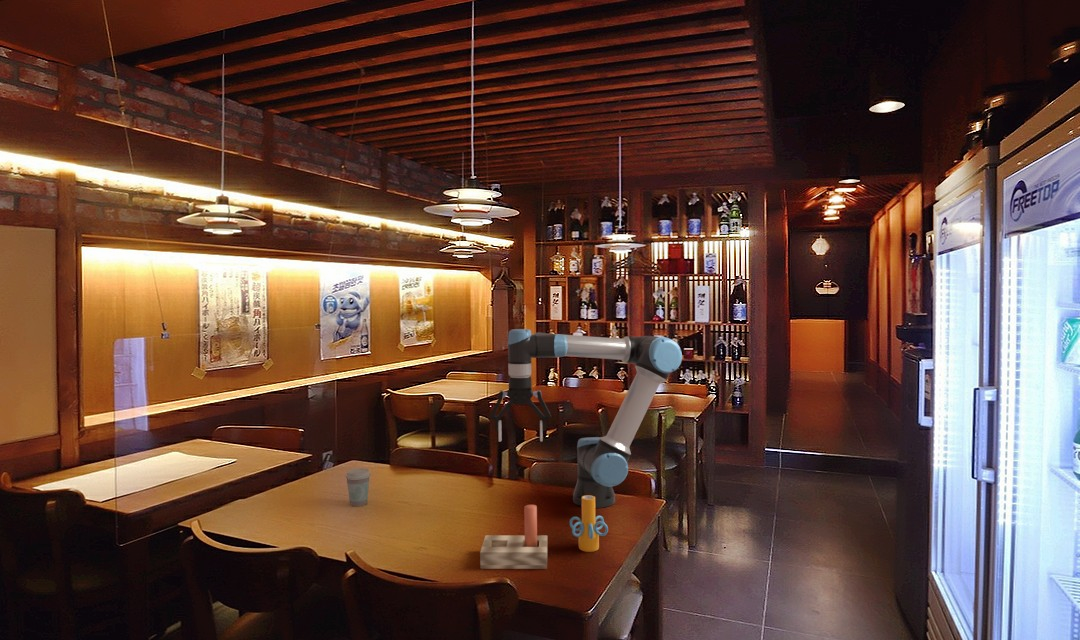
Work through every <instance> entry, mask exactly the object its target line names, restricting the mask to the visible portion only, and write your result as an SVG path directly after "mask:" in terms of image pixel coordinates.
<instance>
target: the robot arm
mask: <svg viewBox="0 0 1080 640" xmlns="http://www.w3.org/2000/svg"><path fill="white" fill-rule="evenodd" d="M507 339H508V341H507V350H508V353H507V354H508V355H507V356H508V357H507V360H508V363H507V364H508V365H507V367H508V376H509V377H508V390H507V391H503V390H500V391H499V393H498V399H497V401H496V403H495V406H493V409H492V410H491V414H490V415H489V420H490V421H491V420H492V421H494V430H495V432H498V442H502V440H503V439H502V436H503V435H502V434H503V433H502V426H503V425H502V420H501V418H502V417H503V416H504V415H505V413H506V412H507V411H508V410H509V408H511V407H512V405H515V406H519V405H522V406H525V405H528V406H529V407H530V408H531V409H532V411H534V413H535V414H536V415H537V416H538V417H539V418H540V419H539V441H540V442H543V438H544V437H543V436H544V435H543V431H544V432H545V431H546V430H547V421H549V420H552V415H551V412H550V410H549V409H548V406H547V404H546V402H545V400H544V399H543V397H542V395H543V394H542V391H541V390H539V389H538V390H537V391H536V390H535V391H533V389H532V386H533V385H532V382H533V381H532V377H531V375H532V358H533V359H536V358H562V357H576V358H591V359H592V358H593V359H605V360H620V361H621V362H622V363H625V364H632V365H635V366H634V367H635V370H636V374H635V376H634V378H633V380H632V382H631V384H630V386H629V389H628V391H627V393H626V395H625V397H624V398H623V401H622V403H621V405H620V407H619V409H618V411H617V414H616V415H615V417H614V418H613V419H614V420H613V421H612V423H611V426H610V427H609V429H608V431H607V434H606V435H604V436H600V437H599V436H595V437H594V436H593V437H581V438H579V439H578V441H577V445H576V450H577V481H576V485H575V487H574V490H573V493H572V501H573V503H574V504H575V505H577V506H580V507H582V496H586V495H591V496H594V497H595V509H596V508H597V509H599V508H606V507H611V506H612V505H614V504H615V503H616V495H615V491H614V488H613V487H615V486H619V485H620V484H622V482H624V481H625V480H626V478H627V475H628V473H629V464H628V461H629V460H630V457H631V455H632V453H631V449H630V446H631V444H632V442H633V440H634V439H635V436H636V433H637V431H638V430H639V428H640V426H641V423H642V422H643V419H644V418H645V416H646V414H647V411H648V409H649V407H650V405H651V403H652V401H653V399H654V396H655V395H656V392H657V390H659V389H658V388H659V387H660V385H661V384H662V383H665V382H666V383H667V381H668V378H669V377H670V374H671V373H673V372H675V371H676V370H677V369H678V368H679V367H680V366H681V364H682V360H683V354H682V349H681V347H680V345H679V344H678V343H677V341H675V340H673V339H671V338H669V337H667V336H657V335H656V336H655V335H642V336H624V337H623V338H614V337H603V336H588V335H573V334H563V333H561V334H559V333H548V332H547V333H546V332H535V333H533V334H532V330H531V329H527V328H525V329H524V328H522V329H520V328H519V329H518V328H516V329H510V330H509V331H508V338H507ZM506 396H507V397H508V399H509V401H508V402H507V403H506V404H505V406H504V407H503V408H502V409H501V410H500V411H499V413H498V414H497V415H496V413H497V411H498V409H499V407H500V405H501V403H502V401H503V399H505V398H506ZM533 396H534V397H535V399H538V402H539V404H540V406H541V407H542V410H543V412H544V413H543V412H542V411H541V410H540V409H539V407H538V406H536V404H535V403H534V402H533V400H532V397H533ZM544 414H545V415H544Z"/></svg>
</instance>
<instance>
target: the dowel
mask: <svg viewBox="0 0 1080 640" xmlns="http://www.w3.org/2000/svg"><path fill="white" fill-rule="evenodd" d="M523 507H524V508H523V510H524V512H523V513H524V523H523V525H524V535H525V547H537V535H538V507H537V505H536V504H526V505H524V506H523Z"/></svg>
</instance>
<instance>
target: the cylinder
mask: <svg viewBox="0 0 1080 640" xmlns="http://www.w3.org/2000/svg"><path fill="white" fill-rule="evenodd" d="M598 519H600V520H599V521H598ZM604 519H605V518H604V517H603V516H602V515H597V516H596V508H595V497H594V496H591V495H586V496H582V506H581V518H580V517H578V516H572V517H571V518H570V519H569V526H570V528H571V533H572V535H573V536H574V537H576V538H578V550H580V551H582V552H586V553H593V552H596V551H598V550H599V548H600V536H601V537H604V536H606V535H607V534H608V532H609V526H608V524H606V523H605V520H604ZM574 520H577V522H575V523H574V524H573V522H574ZM578 525H579V527H578V528H576V527H577V526H578ZM598 525H599V526H598ZM603 527H604V528H605V529H604V532H600V530H601V529H603ZM577 532H579V533H577Z"/></svg>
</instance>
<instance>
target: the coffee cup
mask: <svg viewBox="0 0 1080 640" xmlns="http://www.w3.org/2000/svg"><path fill="white" fill-rule="evenodd" d="M370 477H371V472H370V470H369V469H368V468H365V467H364V468H363V467H362V468H359V467H358V468H353V469H349V470H348V471H347V472H346V475H345V479H346V483H347V491H348V498H349V506H350V507H354V506H355V507H356V508H357V507H358V506H359V507H364V506H366V505H367V504H368V498H369V496H368V495H369V486H370ZM363 505H364V506H363Z"/></svg>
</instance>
